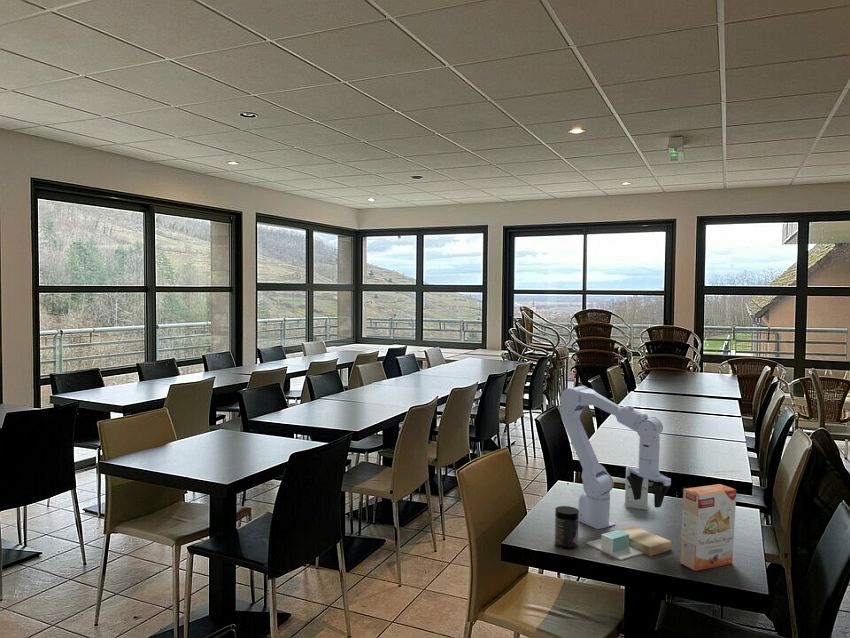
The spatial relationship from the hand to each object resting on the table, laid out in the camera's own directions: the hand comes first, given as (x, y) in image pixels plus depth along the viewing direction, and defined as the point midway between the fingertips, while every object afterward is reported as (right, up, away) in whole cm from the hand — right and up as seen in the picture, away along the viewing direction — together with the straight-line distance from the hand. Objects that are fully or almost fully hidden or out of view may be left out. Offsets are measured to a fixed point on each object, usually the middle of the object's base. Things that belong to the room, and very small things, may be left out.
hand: (647, 503), depth 189 cm
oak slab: (-4, -11, -5) cm, 12 cm away
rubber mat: (-13, -11, -9) cm, 19 cm away
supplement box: (+6, -10, +29) cm, 31 cm away
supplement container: (-26, -11, -7) cm, 29 cm away
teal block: (-10, -8, -8) cm, 15 cm away
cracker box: (+10, -12, -18) cm, 24 cm away
